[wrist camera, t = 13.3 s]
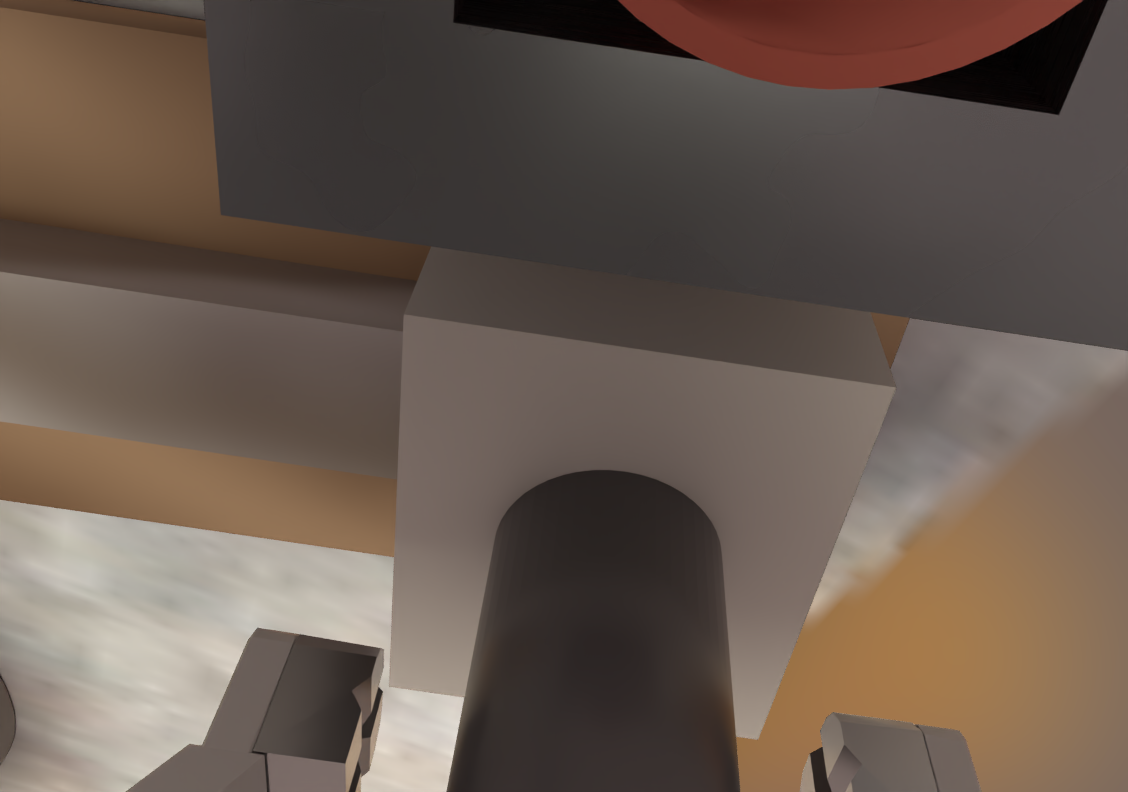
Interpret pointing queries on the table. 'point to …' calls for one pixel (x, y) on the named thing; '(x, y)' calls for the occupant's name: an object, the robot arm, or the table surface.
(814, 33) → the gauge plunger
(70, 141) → the rail bench
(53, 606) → the table surface
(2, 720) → the coffee mug
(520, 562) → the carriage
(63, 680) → the table surface
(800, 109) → the dark grey holder box
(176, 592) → the table surface
